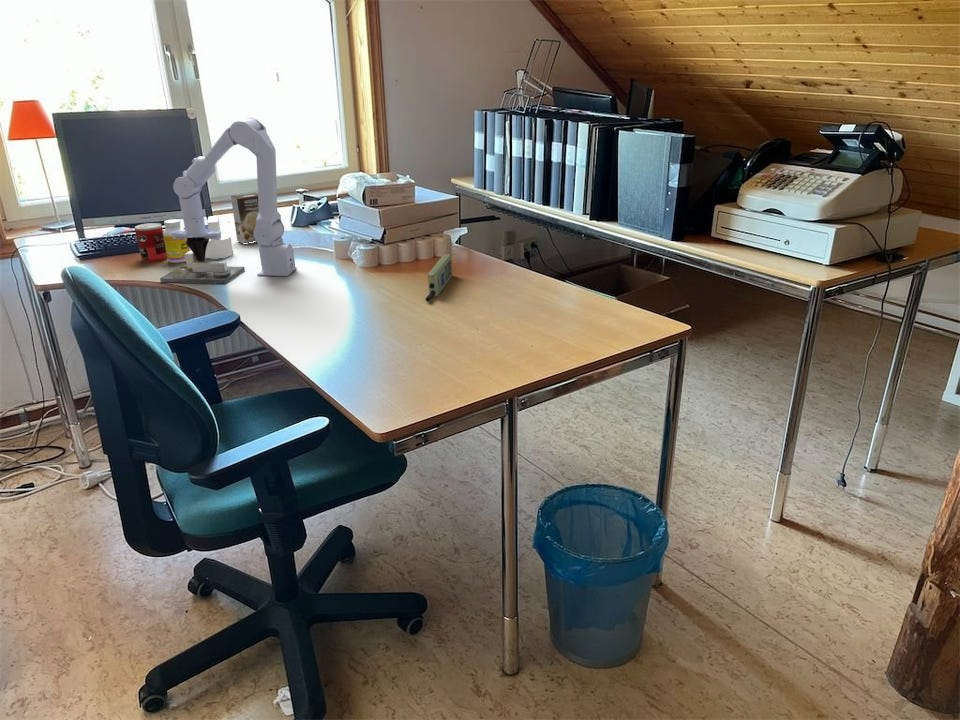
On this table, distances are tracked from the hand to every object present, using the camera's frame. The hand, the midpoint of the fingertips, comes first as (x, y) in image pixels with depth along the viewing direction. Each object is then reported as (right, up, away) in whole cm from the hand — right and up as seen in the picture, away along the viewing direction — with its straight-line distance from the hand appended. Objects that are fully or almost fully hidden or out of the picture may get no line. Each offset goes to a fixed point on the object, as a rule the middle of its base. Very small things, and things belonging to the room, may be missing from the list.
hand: (201, 262), depth 211 cm
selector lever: (+6, -4, -6) cm, 9 cm away
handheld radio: (+73, -10, -16) cm, 75 cm away
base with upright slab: (-1, +5, +18) cm, 19 cm away
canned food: (-21, +3, +15) cm, 26 cm away
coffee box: (+5, +12, +34) cm, 36 cm away
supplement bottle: (-12, +2, +13) cm, 18 cm away
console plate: (+2, -5, -3) cm, 6 cm away
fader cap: (-3, -1, +1) cm, 3 cm away
